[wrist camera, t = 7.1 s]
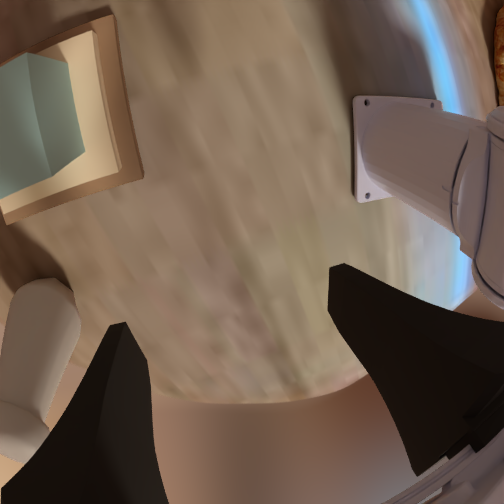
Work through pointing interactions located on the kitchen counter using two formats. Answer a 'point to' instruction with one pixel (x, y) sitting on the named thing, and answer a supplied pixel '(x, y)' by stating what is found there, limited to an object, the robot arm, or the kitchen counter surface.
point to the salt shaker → (34, 362)
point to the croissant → (499, 54)
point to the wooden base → (87, 121)
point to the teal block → (36, 121)
